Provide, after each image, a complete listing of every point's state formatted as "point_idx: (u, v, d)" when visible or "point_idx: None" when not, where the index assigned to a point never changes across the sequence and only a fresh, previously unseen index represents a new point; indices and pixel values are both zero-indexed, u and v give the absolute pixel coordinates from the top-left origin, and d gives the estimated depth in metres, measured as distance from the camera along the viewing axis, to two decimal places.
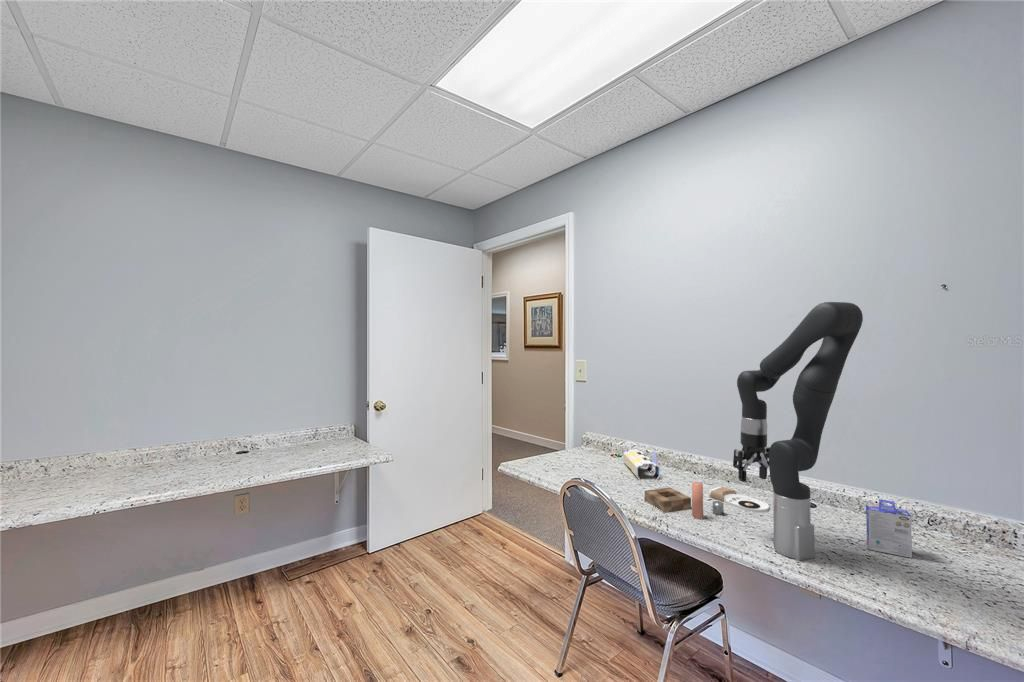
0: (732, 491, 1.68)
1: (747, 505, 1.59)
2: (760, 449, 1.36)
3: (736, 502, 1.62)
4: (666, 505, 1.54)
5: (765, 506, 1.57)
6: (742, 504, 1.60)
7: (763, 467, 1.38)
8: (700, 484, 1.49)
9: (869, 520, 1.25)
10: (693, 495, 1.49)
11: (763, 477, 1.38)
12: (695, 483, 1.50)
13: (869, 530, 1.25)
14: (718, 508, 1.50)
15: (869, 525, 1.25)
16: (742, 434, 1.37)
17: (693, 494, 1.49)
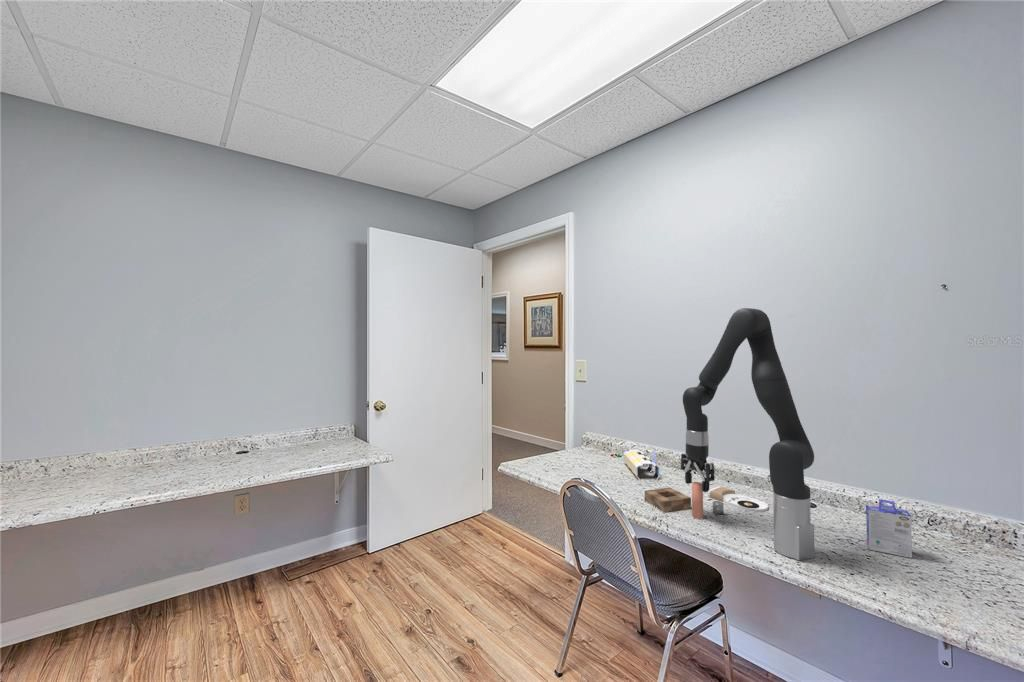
0: (731, 491, 1.69)
1: (746, 505, 1.59)
2: None
3: (735, 502, 1.62)
4: (666, 505, 1.54)
5: (764, 506, 1.57)
6: (741, 504, 1.60)
7: (689, 473, 1.54)
8: (700, 484, 1.49)
9: (869, 520, 1.25)
10: (693, 495, 1.49)
11: (690, 481, 1.54)
12: (695, 483, 1.50)
13: (869, 530, 1.25)
14: (718, 508, 1.50)
15: (869, 525, 1.25)
16: (701, 448, 1.46)
17: (693, 494, 1.49)
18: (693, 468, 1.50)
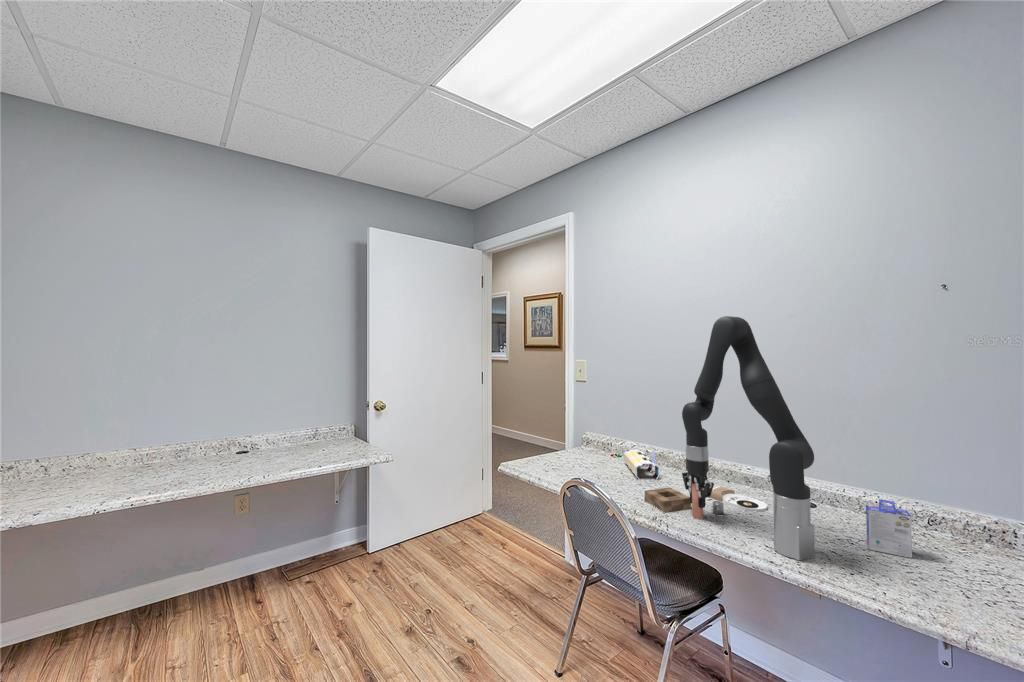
0: (730, 491, 1.69)
1: (745, 505, 1.59)
2: None
3: (734, 502, 1.62)
4: (666, 505, 1.54)
5: (763, 506, 1.58)
6: (740, 504, 1.60)
7: None
8: None
9: (869, 520, 1.25)
10: (693, 495, 1.49)
11: None
12: None
13: (869, 530, 1.25)
14: (718, 508, 1.50)
15: (869, 525, 1.25)
16: (701, 463, 1.46)
17: (693, 494, 1.49)
18: None
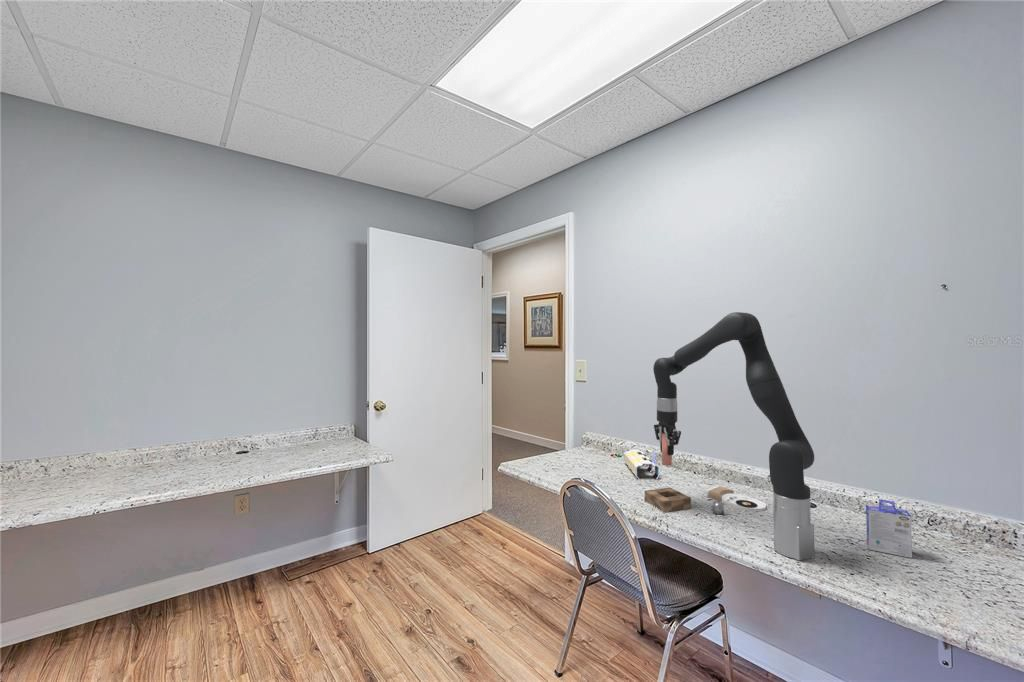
0: (729, 490, 1.69)
1: (744, 504, 1.59)
2: None
3: (734, 501, 1.62)
4: (666, 505, 1.54)
5: (762, 505, 1.58)
6: (740, 503, 1.60)
7: None
8: None
9: (869, 520, 1.25)
10: (663, 444, 1.60)
11: None
12: None
13: (869, 530, 1.25)
14: (718, 508, 1.50)
15: (869, 525, 1.25)
16: (670, 413, 1.57)
17: (663, 443, 1.60)
18: None
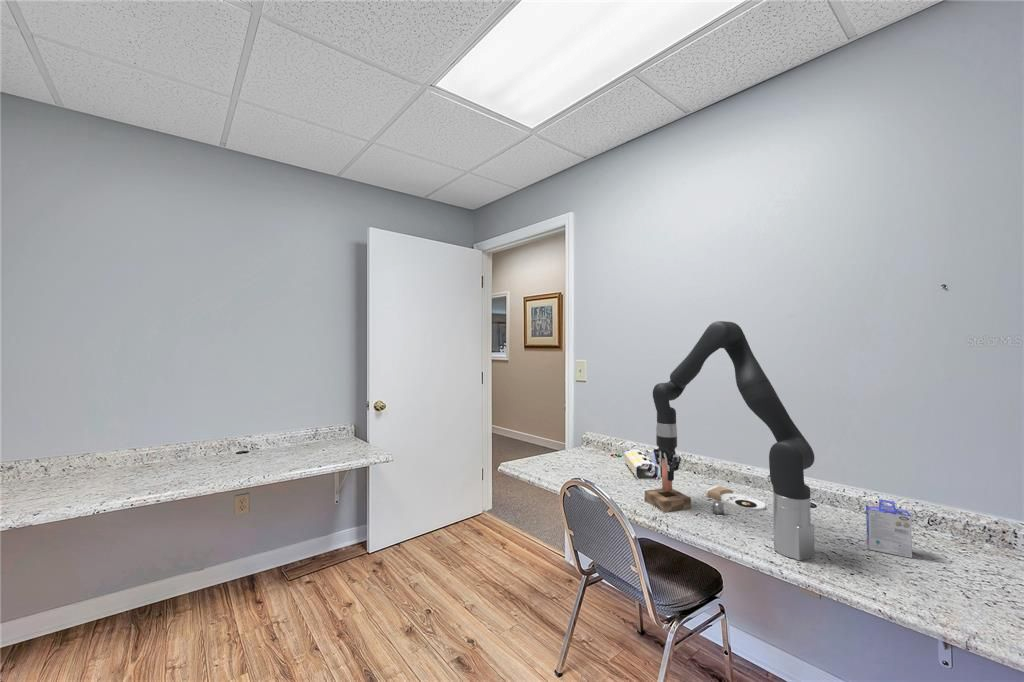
0: (729, 490, 1.69)
1: (744, 504, 1.59)
2: None
3: (733, 501, 1.63)
4: (666, 505, 1.54)
5: (762, 505, 1.58)
6: (739, 503, 1.60)
7: None
8: None
9: (869, 520, 1.25)
10: (663, 469, 1.60)
11: None
12: None
13: (869, 530, 1.25)
14: (718, 508, 1.50)
15: (869, 525, 1.25)
16: (670, 439, 1.57)
17: (663, 468, 1.60)
18: None
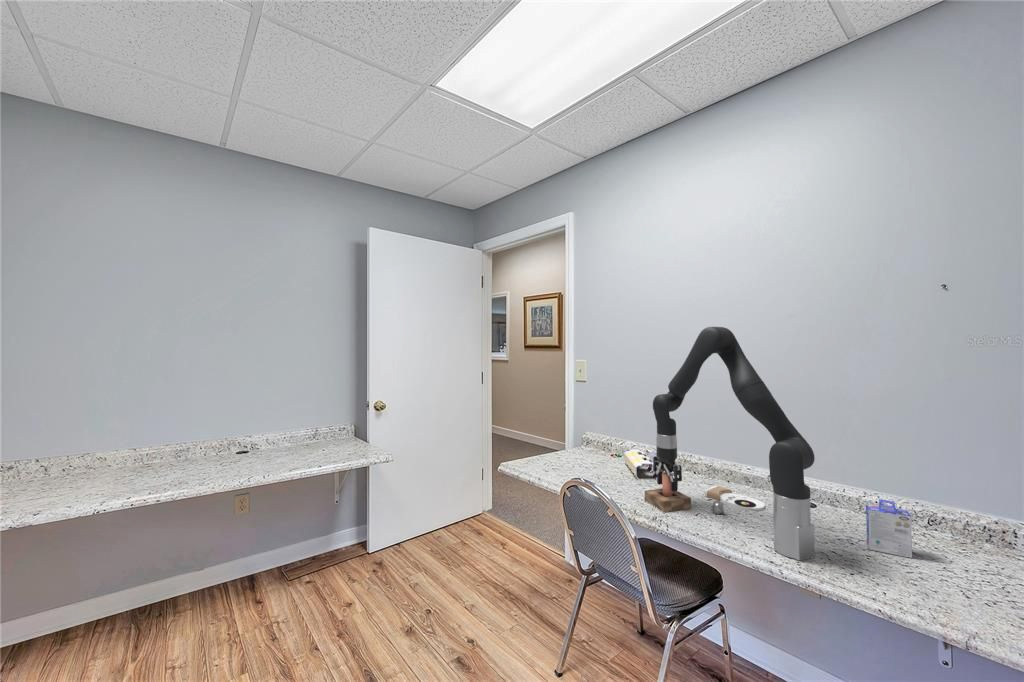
0: (728, 490, 1.69)
1: (743, 504, 1.60)
2: None
3: (732, 501, 1.63)
4: (666, 505, 1.54)
5: (761, 505, 1.58)
6: (738, 503, 1.61)
7: (661, 474, 1.65)
8: None
9: (869, 520, 1.25)
10: (663, 484, 1.60)
11: None
12: (665, 473, 1.61)
13: (869, 530, 1.25)
14: (718, 508, 1.50)
15: (869, 525, 1.25)
16: (670, 450, 1.57)
17: (663, 483, 1.60)
18: (663, 469, 1.61)
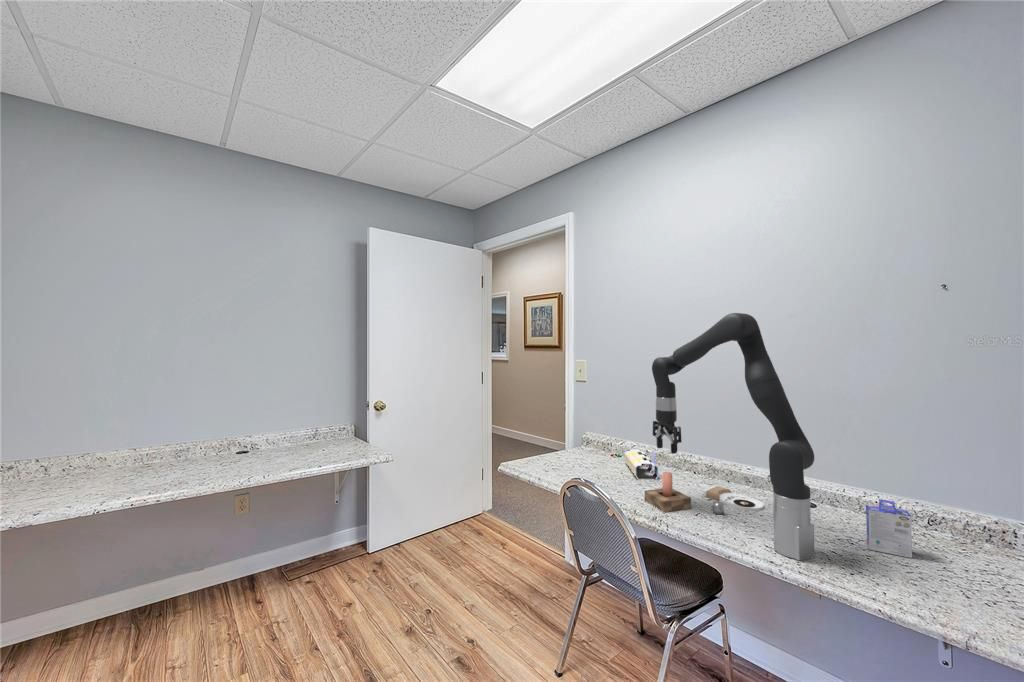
0: (727, 490, 1.70)
1: (742, 504, 1.60)
2: None
3: (731, 501, 1.63)
4: (666, 505, 1.54)
5: (760, 504, 1.59)
6: (737, 503, 1.61)
7: (660, 438, 1.65)
8: (670, 474, 1.60)
9: (869, 520, 1.25)
10: (663, 484, 1.60)
11: (661, 446, 1.65)
12: (665, 473, 1.61)
13: (869, 530, 1.25)
14: (718, 508, 1.50)
15: (869, 525, 1.25)
16: (669, 412, 1.57)
17: (663, 483, 1.60)
18: (663, 433, 1.61)
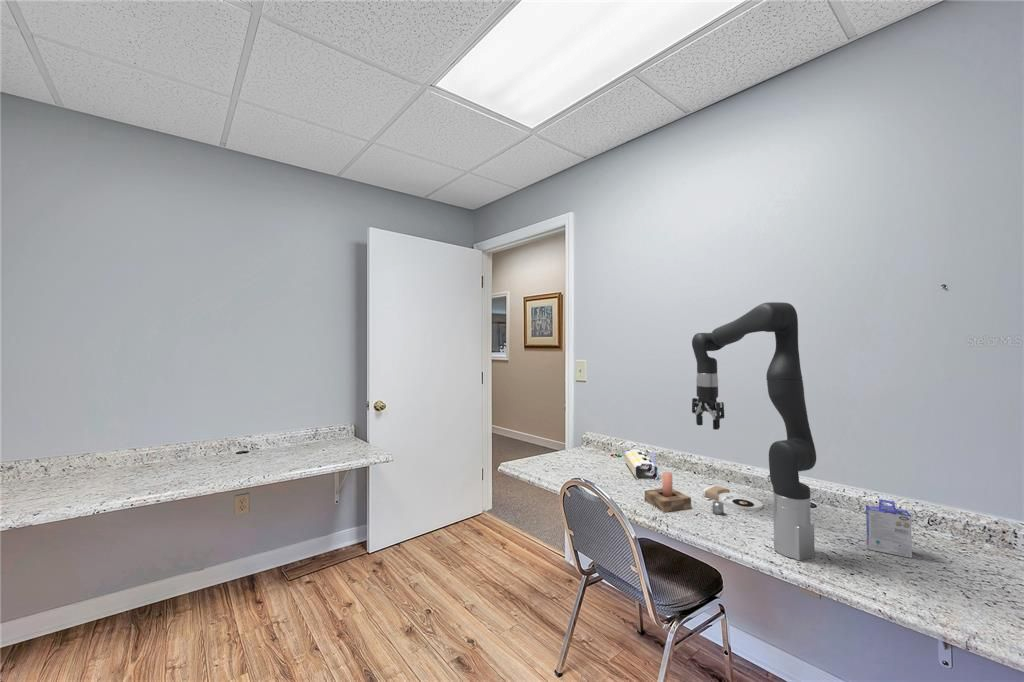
0: (726, 490, 1.70)
1: (741, 503, 1.60)
2: None
3: (730, 501, 1.63)
4: (666, 505, 1.54)
5: (759, 504, 1.59)
6: (736, 502, 1.61)
7: (700, 415, 1.63)
8: (670, 474, 1.60)
9: (869, 520, 1.25)
10: (663, 484, 1.60)
11: (701, 423, 1.63)
12: (665, 473, 1.61)
13: (869, 530, 1.25)
14: (718, 508, 1.50)
15: (869, 525, 1.25)
16: (712, 388, 1.56)
17: (663, 483, 1.60)
18: (704, 409, 1.60)
